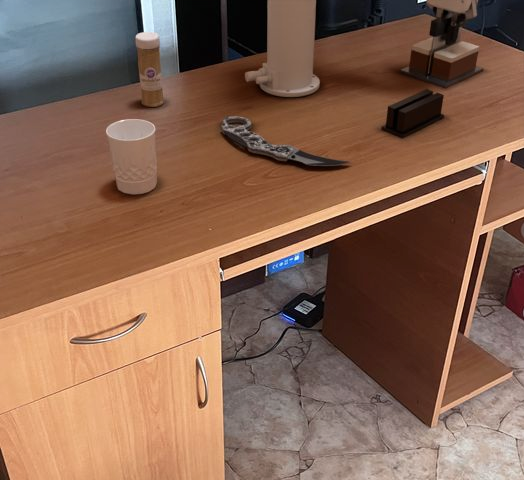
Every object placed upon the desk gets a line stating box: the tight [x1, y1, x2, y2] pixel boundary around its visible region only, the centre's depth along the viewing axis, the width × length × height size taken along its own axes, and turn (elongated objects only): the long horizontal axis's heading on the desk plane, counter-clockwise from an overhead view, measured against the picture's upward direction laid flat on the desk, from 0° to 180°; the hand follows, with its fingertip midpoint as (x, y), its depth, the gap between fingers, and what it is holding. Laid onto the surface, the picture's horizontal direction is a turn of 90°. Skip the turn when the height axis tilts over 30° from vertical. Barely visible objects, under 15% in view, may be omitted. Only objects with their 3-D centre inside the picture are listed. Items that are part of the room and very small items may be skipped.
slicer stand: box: [380, 88, 445, 139], centre depth 150 cm, size 13×5×5 cm, turn 134°
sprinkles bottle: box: [135, 31, 165, 108], centre depth 154 cm, size 5×5×14 cm
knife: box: [220, 115, 352, 167], centre depth 143 cm, size 28×2×10 cm
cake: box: [399, 36, 484, 89], centre depth 170 cm, size 14×12×6 cm
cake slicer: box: [428, 10, 468, 74], centre depth 167 cm, size 11×2×11 cm, turn 134°
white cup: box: [105, 118, 158, 195], centre depth 129 cm, size 8×8×10 cm
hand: (446, 41), depth 167 cm, fingers closed on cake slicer, 1 cm apart
